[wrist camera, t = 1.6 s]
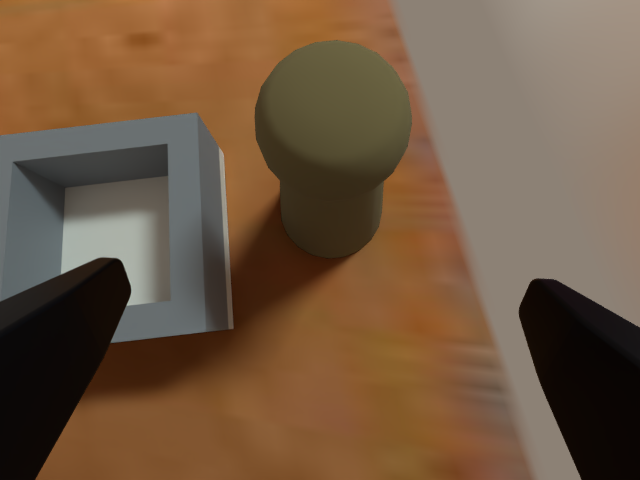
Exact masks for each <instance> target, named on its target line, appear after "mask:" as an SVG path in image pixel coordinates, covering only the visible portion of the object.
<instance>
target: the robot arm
mask: <svg viewBox="0 0 640 480" xmlns="http://www.w3.org/2000/svg"><path fill="white" fill-rule="evenodd" d="M130 296H131V285H130V282H129V279H128V276H127V273H126V271H125V268H124V265H123V263H122V261H121V260H120V259H118V258H108V257H100V258H97V259H94V260H92V261H90V262H88V263H85V264H83V265H81V266H79V267H76V268H74V269H72V270H70V271H67V272H65V273H63V274H61V275H58V276H56V277H54V278H52V279H49V280H47V281H45V282H43V283H40V284H38V285H36V286H34V287H31V288H29V289H27V290H25V291H22V292H20V293H18V294H16V295H14V296H11V297H9V298H7V299H5V300H2V301H0V480H35V479H36V477H37V475H38V474H39V472H40V470H41V468H42V467H43V465H44V463H45V461H46V460H47V458H48V456H49V454H50V452H51V451H52V449H53V447H54V445H55V444H56V442H57V440H58V438H59V436H60V435H61V433H62V431H63V429H64V428H65V426H66V424H67V422H68V420H69V419H70V417H71V415H72V413H73V412H74V410H75V408H76V406H77V404H78V403H79V401H80V399H81V397H82V396H83V394H84V392H85V390H86V388H87V387H88V385H89V383H90V381H91V380H92V378H93V376H94V374H95V373H96V371H97V369H98V367H99V365H100V363H101V362H102V360H103V358H104V356H105V354H106V351H107V349H108V347H109V345H110V343H111V340H112V338H113V336H114V333H115V331H116V329H117V327H118V324H119V322H120V320H121V317H122V315H123V313H124V310H125V308H126V306H127V303H128V301H129V299H130ZM519 318H520V321H521V324H522V328H523V331H524V334H525V337H526V341H527V344H528V347H529V350H530V353H531V357H532V360H533V363H534V366H535V370H536V373H537V376H538V378H539V381H540V384H541V386H542V389H543V391H544V394H545V396H546V399H547V401H548V403H549V405H550V408H551V410H552V412H553V415H554V417H555V419H556V421H557V424H558V426H559V428H560V431H561V433H562V436H563V438H564V440H565V442H566V445H567V447H568V449H569V452H570V454H571V456H572V459H573V460H574V463H575V466H576V468H577V470H578V473H579V475H580V477H581V480H640V327H638V326H636V325H634V324H632V323H631V322H629V321H627V320H625V319H623V318H622V317H620V316H619V315H617V314H615V313H613V312H612V311H610V310H608V309H606V308H604V307H603V306H601V305H599V304H597V303H596V302H594V301H592V300H590V299H589V298H587V297H585V296H583V295H582V294H580V293H578V292H576V291H575V290H573V289H571V288H569V287H567V286H566V285H564V284H562V283H560V282H559V281H557V280H554V279H539V278H538V279H534V280H532V281H531V282H530V284H529V286H528V289H527V291H526V293H525V296H524V298H523V300H522V302H521V305H520V307H519Z"/></svg>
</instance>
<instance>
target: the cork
mask: <svg viewBox="0 0 640 480" xmlns="http://www.w3.org/2000/svg"><path fill="white" fill-rule="evenodd" d="M411 125H412V114H411V108H410V102H409V96H408V92H407V90H406V88H405V86H404V85H403V83H402V81H401V79H400V77H399V76H398V74H397V72H396V71H395V70H394V68H393V67H392V66H391V65H390V64H389V63H388V62H386V61H385V60H384V59H383V58H382V57H381V56H380V55H379V54H378V53H376V52H374V51H372V50H370V49H368V48H366V47H364V46H361V45H359V44H356V43H350V42H344V41H338V40H334V41H324V42H315V43H312V44H310V45H307V46H305V47H302V48H299V49H297V50H295V51H293V52H292V53H291V54H289V55H288V56H287V57H286V58H284V59H283V60H282V61H280V62H279V63H278V64H277V65H276V67H275V68H274V69H273V71H272V72H271V74H270V75H269V77H268V78H267V79H266V81H265V82H264V84H263V85H262V86H261V90H260V93H259V96H258V100H257V103H256V107H255V131H256V140H257V143H258V145H259V147H260V150H261V152H262V154H263V157H264V159H265V161H266V163H267V166H268V168H269V169H270V170H271V171H272V172H273V173H274V174H275V175H276V176H277V178H278V179H279V180H280V202H281V219H282V223H283V225H284V228H285V230H286V232H287V235H288V236H289V237H290V238H291V239H292V241H293V242H294V243H295V244H296V245H297V246H298V247H299V248H301V249H303V250H304V251H306V252H308V253H310V254H311V255H315V256H319V257H324V258H337V257H345V256H347V255H350V254H352V253H354V252H357V251H359V250H360V249H361V248H362V247H364V246H365V245H366V244H367V243H368V242H369V241H370V240H371V239H372V237H373V236H374V234H375V232H376V230H377V229H378V227H379V223H380V218H381V213H382V201H383V184H384V180H386V179H387V178H388V177H389V176H390V175H391V174H392V173H393V172H394V170H395V168H396V166H397V165H398V163H399V161H400V160H401V158H402V156H403V155H404V152H405V150H406V148H407V146H408V142H409V136H410V131H411Z"/></svg>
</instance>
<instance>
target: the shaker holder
mask: <svg viewBox="0 0 640 480" xmlns="http://www.w3.org/2000/svg"><path fill="white" fill-rule="evenodd" d="M100 257H108V258H118V259H120V260H121V261H122V263H123V265H124V268H125V271H126V273H127V276H128V279H129V282H130V285H131V296H130V299H129V301H128V303H127V306H126V308H125V310H124V313H123V315H122V317H121V320H120V322H119V324H118V327H117V329H116V331H115V333H114V336H113V338H112V340H111V343H116V342H124V341H133V340H142V339H150V338H159V337H167V336H176V335H185V334H193V333H202V332H210V331H219V330H228V329H234V326H233V309H232V291H231V274H230V256H229V239H228V221H227V204H226V186H225V169H224V154H223V152H222V151H221V149H220V148H219V146H218V145H217V143H216V141H215V140H214V138H213V137H212V135H211V134H210V132H209V130H208V129H207V127H206V126H205V124H204V123H203V121H202V120H201V118H200V116H199V115H198V113H190V114H182V115H173V116H164V117H156V118H147V119H139V120H130V121H121V122H113V123H104V124H95V125H87V126H78V127H70V128H61V129H52V130H44V131H35V132H26V133H18V134H9V135H1V136H0V301H2V300H5V299H7V298H9V297H11V296H14V295H16V294H18V293H20V292H22V291H25V290H27V289H29V288H31V287H34V286H36V285H38V284H40V283H43V282H45V281H47V280H49V279H52V278H54V277H56V276H58V275H61V274H63V273H65V272H67V271H70V270H72V269H74V268H76V267H79V266H81V265H83V264H85V263H88V262H90V261H92V260H94V259H97V258H100Z"/></svg>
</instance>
